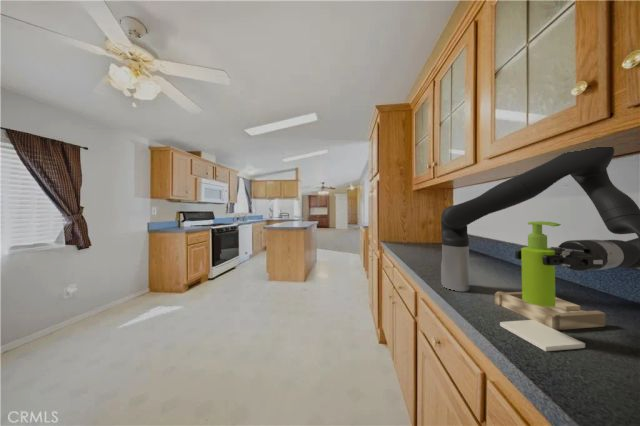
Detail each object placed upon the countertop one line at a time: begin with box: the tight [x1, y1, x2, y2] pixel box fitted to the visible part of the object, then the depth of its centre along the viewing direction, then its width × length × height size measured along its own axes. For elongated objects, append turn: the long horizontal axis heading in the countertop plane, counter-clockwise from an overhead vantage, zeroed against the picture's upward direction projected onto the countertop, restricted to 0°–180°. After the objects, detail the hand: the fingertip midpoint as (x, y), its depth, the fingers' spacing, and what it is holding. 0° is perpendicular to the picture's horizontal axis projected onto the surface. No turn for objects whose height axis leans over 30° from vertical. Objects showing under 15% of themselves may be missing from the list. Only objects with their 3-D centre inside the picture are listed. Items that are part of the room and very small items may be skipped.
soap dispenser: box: [520, 221, 561, 307], centre depth 54 cm, size 6×7×20 cm
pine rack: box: [494, 290, 606, 331], centre depth 66 cm, size 17×16×4 cm
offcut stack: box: [537, 296, 585, 313], centre depth 67 cm, size 11×5×4 cm, turn 6°
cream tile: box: [499, 319, 586, 352], centre depth 55 cm, size 11×10×1 cm
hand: (530, 257), depth 54 cm, fingers closed on soap dispenser, 6 cm apart
